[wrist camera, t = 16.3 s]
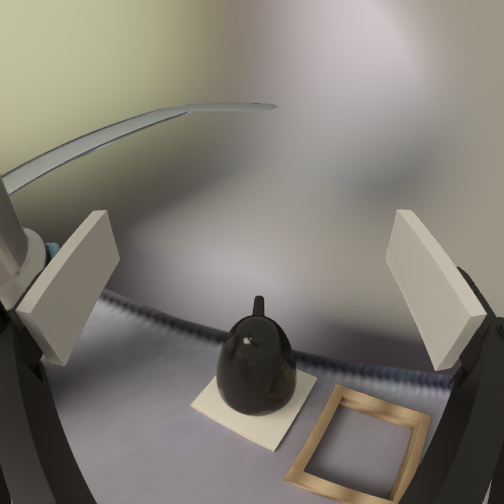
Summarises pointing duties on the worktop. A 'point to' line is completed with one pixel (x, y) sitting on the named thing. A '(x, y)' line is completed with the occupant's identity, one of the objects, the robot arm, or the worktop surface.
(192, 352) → the worktop surface
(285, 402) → the black egg-shaped piece
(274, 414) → the tile
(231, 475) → the worktop surface
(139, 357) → the worktop surface
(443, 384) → the worktop surface
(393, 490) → the wooden picture frame
